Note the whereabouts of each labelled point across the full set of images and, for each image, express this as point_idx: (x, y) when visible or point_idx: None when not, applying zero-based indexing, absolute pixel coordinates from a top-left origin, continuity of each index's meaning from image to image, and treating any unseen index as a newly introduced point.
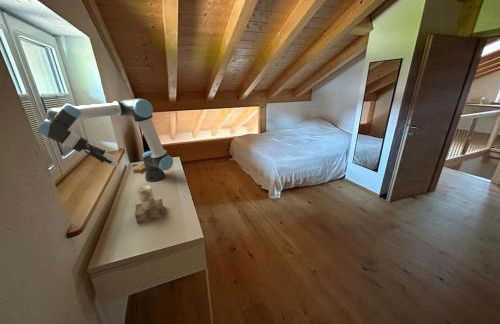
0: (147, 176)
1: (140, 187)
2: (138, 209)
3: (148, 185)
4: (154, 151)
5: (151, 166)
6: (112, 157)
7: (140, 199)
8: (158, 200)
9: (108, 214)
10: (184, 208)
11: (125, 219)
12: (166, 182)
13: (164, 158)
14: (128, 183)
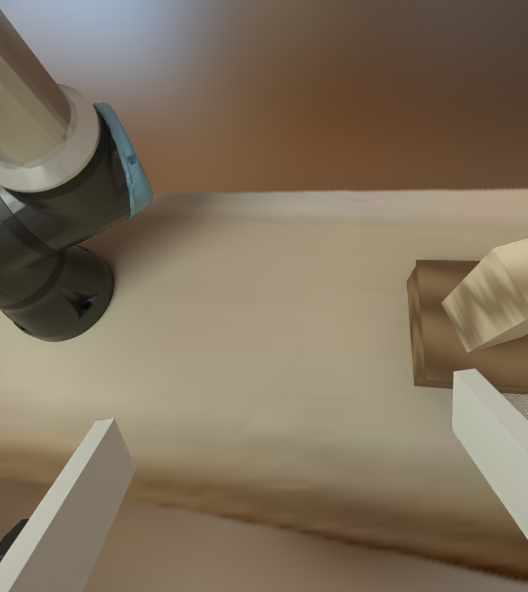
0: (63, 318)
1: (525, 292)
2: (494, 369)
3: (507, 245)
4: (44, 121)
5: (49, 257)
6: (102, 475)
7: (509, 333)
8: (429, 275)
9: (361, 544)
10: (460, 209)
11: (459, 450)
12: (159, 253)
13: (123, 129)
14: (24, 432)
